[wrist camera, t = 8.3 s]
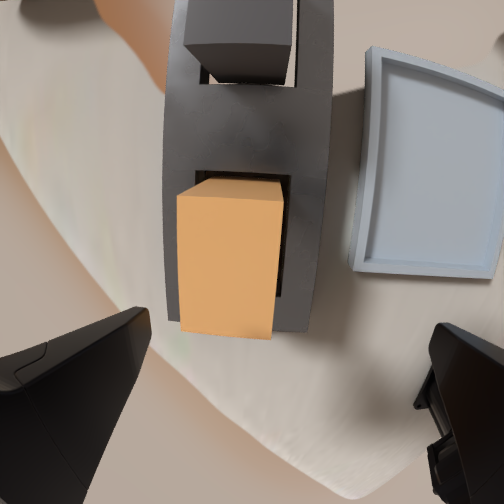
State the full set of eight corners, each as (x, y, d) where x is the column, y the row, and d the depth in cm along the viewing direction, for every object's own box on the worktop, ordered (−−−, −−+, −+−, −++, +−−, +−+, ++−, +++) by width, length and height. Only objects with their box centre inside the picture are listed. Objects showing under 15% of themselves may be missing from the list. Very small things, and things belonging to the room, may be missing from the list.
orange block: (272, 270, 21) (270, 339, 13) (212, 265, 21) (181, 331, 14) (279, 179, 19) (283, 201, 11) (214, 175, 19) (176, 195, 12)
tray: (482, 271, 20) (492, 278, 18) (347, 262, 20) (352, 271, 19) (505, 97, 15) (516, 96, 14) (365, 52, 16) (371, 45, 14)
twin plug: (284, 85, 17) (291, 45, 9) (218, 82, 17) (183, 45, 10) (287, 3, 15) (294, -65, 7) (225, 2, 15) (198, -64, 8)
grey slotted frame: (304, 312, 22) (306, 332, 19) (178, 302, 22) (168, 320, 20) (326, -26, 14) (331, -44, 11) (191, -28, 14) (182, -45, 12)
